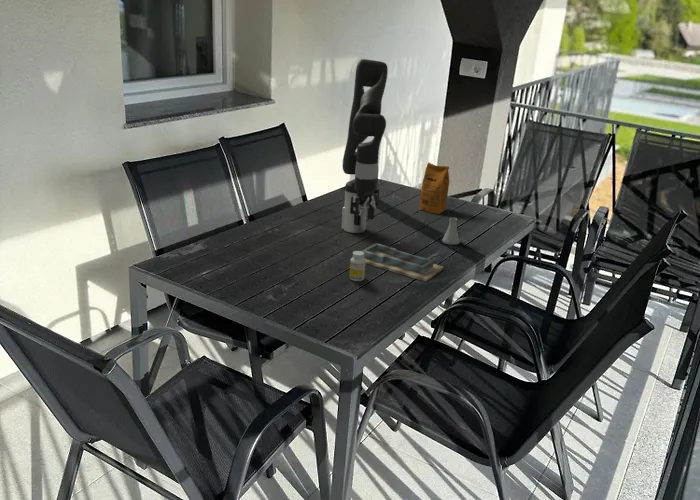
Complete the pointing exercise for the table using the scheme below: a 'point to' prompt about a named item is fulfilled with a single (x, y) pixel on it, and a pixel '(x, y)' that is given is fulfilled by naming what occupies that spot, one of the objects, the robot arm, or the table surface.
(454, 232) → the flask
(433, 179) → the coffee package
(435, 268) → the keyhole guide
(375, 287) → the table surface
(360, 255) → the supplement bottle
